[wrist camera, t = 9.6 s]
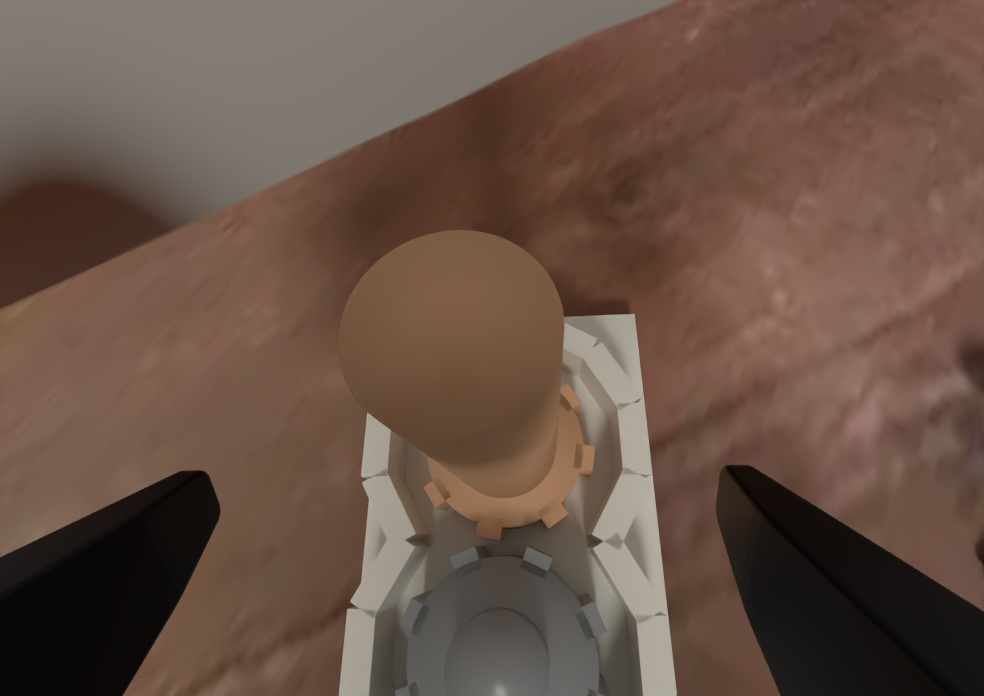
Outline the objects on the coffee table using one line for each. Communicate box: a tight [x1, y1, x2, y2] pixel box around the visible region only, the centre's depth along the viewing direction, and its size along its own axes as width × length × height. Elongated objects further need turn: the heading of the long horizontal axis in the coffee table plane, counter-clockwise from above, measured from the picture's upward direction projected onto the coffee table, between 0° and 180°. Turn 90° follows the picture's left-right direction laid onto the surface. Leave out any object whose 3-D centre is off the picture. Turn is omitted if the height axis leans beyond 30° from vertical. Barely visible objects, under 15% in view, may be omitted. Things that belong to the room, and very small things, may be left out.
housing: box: [339, 314, 677, 696], centre depth 18 cm, size 19×12×6 cm, turn 0°
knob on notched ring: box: [338, 230, 595, 541], centre depth 15 cm, size 7×7×13 cm
